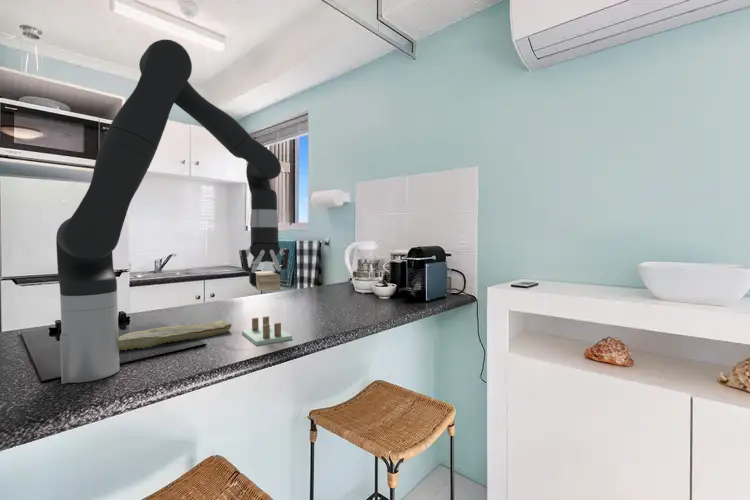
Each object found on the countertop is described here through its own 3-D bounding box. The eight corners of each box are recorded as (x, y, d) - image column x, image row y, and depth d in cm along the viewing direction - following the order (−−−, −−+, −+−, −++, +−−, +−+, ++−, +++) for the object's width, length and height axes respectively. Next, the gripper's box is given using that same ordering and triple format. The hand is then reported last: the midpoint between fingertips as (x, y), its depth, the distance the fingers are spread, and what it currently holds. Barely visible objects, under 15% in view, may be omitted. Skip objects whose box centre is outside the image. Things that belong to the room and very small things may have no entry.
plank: (280, 289, 98) (280, 275, 98) (259, 291, 96) (259, 276, 96) (270, 283, 111) (270, 270, 111) (251, 284, 108) (251, 271, 108)
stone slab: (106, 333, 98) (221, 313, 117) (107, 348, 98) (222, 326, 117) (109, 343, 88) (234, 320, 107) (111, 359, 88) (235, 333, 107)
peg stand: (292, 339, 101) (292, 323, 101) (256, 345, 95) (255, 328, 95) (274, 328, 112) (274, 314, 112) (241, 333, 107) (241, 318, 106)
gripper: (242, 225, 95) (243, 289, 96) (293, 226, 104) (294, 284, 104) (234, 226, 101) (235, 285, 102) (284, 226, 110) (284, 282, 110)
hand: (265, 284), depth 103 cm, fingers closed on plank, 6 cm apart
